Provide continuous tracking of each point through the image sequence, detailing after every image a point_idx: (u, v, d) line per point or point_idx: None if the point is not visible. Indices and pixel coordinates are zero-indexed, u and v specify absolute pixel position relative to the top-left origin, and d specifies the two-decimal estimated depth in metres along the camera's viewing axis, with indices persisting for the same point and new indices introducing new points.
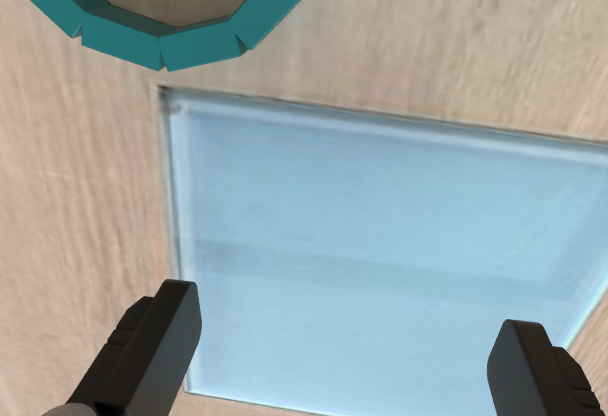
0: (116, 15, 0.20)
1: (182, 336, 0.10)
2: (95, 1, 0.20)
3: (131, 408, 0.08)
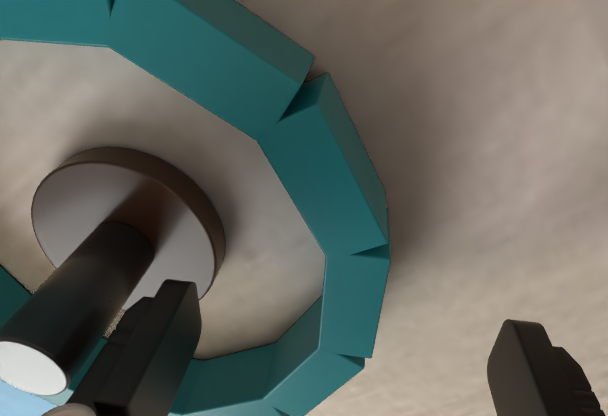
0: None
1: (182, 336, 0.10)
2: None
3: (131, 408, 0.08)
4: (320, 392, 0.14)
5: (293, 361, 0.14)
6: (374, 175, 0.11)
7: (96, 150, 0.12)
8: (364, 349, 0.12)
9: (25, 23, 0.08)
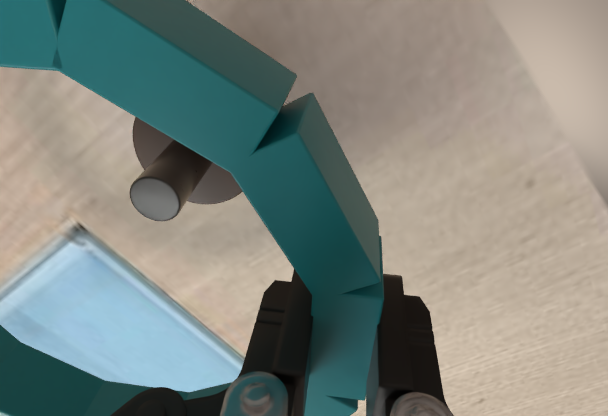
0: None
1: None
2: None
3: (304, 379, 0.09)
4: None
5: None
6: (365, 203, 0.10)
7: None
8: (357, 391, 0.11)
9: None
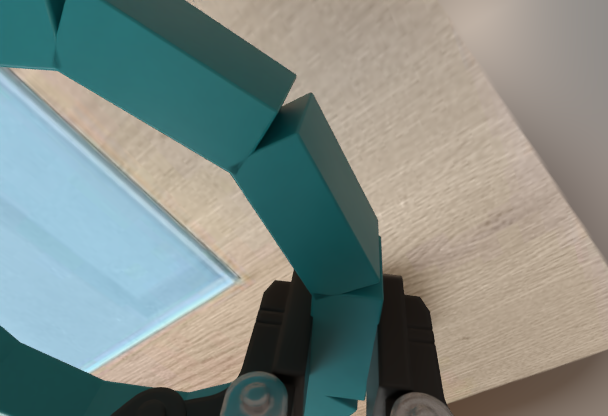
0: None
1: None
2: None
3: (304, 378, 0.09)
4: None
5: None
6: (365, 203, 0.10)
7: None
8: (356, 391, 0.11)
9: None
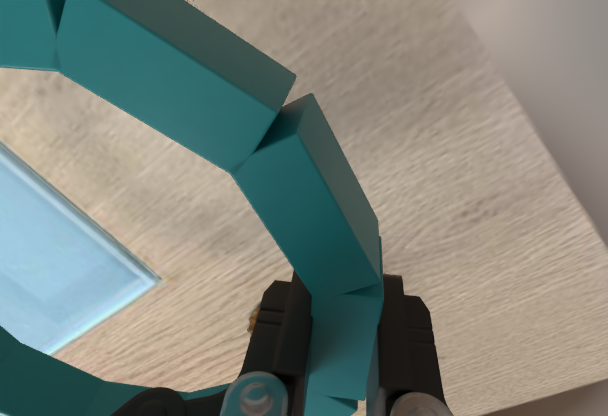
0: None
1: None
2: None
3: (304, 379, 0.09)
4: None
5: None
6: (365, 203, 0.10)
7: None
8: (356, 391, 0.11)
9: None
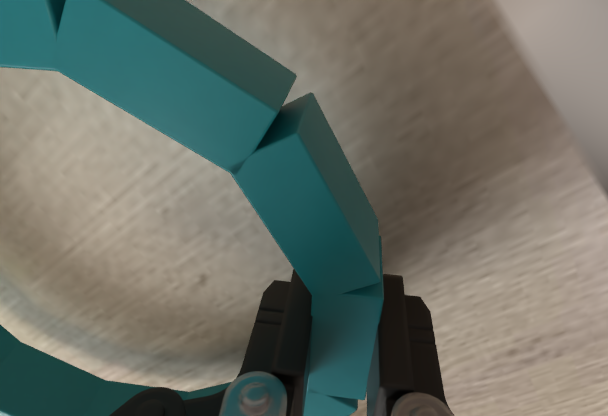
0: None
1: None
2: None
3: (304, 379, 0.09)
4: None
5: None
6: (365, 203, 0.10)
7: None
8: (356, 391, 0.11)
9: None
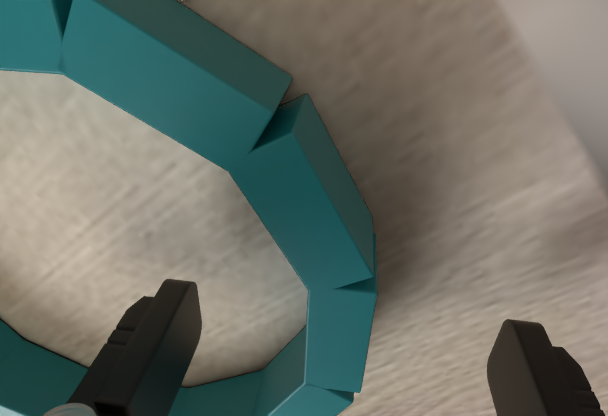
0: None
1: (182, 336, 0.10)
2: None
3: (131, 408, 0.08)
4: None
5: (279, 395, 0.13)
6: (359, 201, 0.11)
7: None
8: (352, 384, 0.11)
9: None
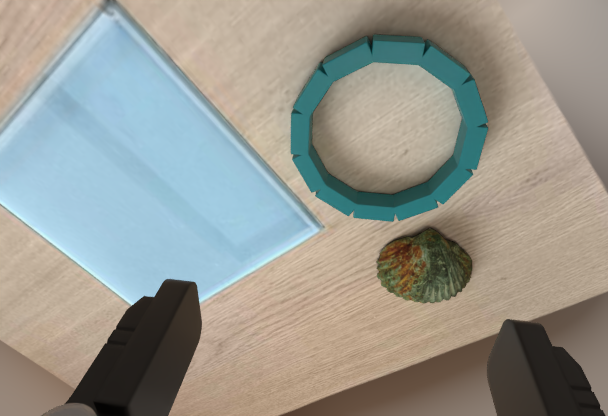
0: (314, 157, 0.38)
1: (182, 336, 0.10)
2: (310, 143, 0.38)
3: (131, 408, 0.08)
4: (454, 188, 0.37)
5: (445, 176, 0.37)
6: None
7: None
8: (474, 165, 0.36)
9: (397, 58, 0.32)
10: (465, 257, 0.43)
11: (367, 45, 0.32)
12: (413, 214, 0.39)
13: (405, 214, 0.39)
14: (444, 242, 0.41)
